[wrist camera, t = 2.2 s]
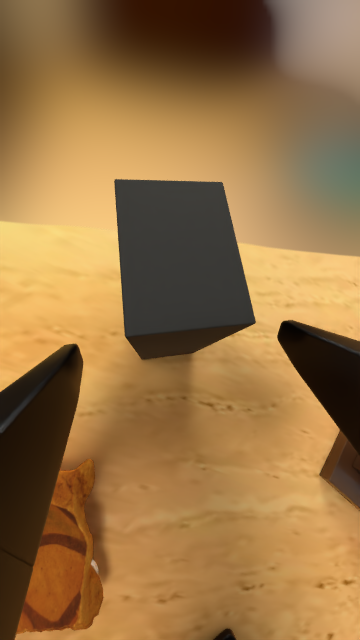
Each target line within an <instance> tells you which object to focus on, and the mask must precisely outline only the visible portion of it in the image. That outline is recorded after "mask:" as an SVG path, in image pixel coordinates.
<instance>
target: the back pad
mask: <svg viewBox="0 0 360 640" xmlns="http://www.w3.org/2000/svg"><path fill="white" fill-rule="evenodd" d="M114 182H115V195H116V196H115V197H116V211H117V226H118V241H119V255H120V270H121V284H122V299H123V314H124V328H125V337H126V338H127V340H128V341H129V342H130V344H131V345H132V346H133V348H134V349H135V351H136V352H137V353H138V355H139V356H140V357H141V359H149V358H157V357H165V356H173V355H180V354H188V353H194V352H196V351H198V350H200V349H202V348H204V347H206V346H208V345H211V344H213V343H215V342H217V341H219V340H221V339H223V338H225V337H228V336H230V335H232V334H234V333H236V332H238V331H240V330H242V329H244V328H247V327H249V326H251V325H253V324H255V323H256V321H255V317H254V313H253V309H252V304H251V300H250V296H249V292H248V287H247V283H246V279H245V275H244V271H243V266H242V262H241V258H240V254H239V249H238V245H237V241H236V237H235V233H234V229H233V224H232V220H231V216H230V212H229V208H228V203H227V199H226V195H225V190H224V186H223V183H222V182H195V181H160V180H159V181H157V180H122V179H121V180H119V179H118V180H117V179H116V180H115V181H114Z"/></svg>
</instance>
